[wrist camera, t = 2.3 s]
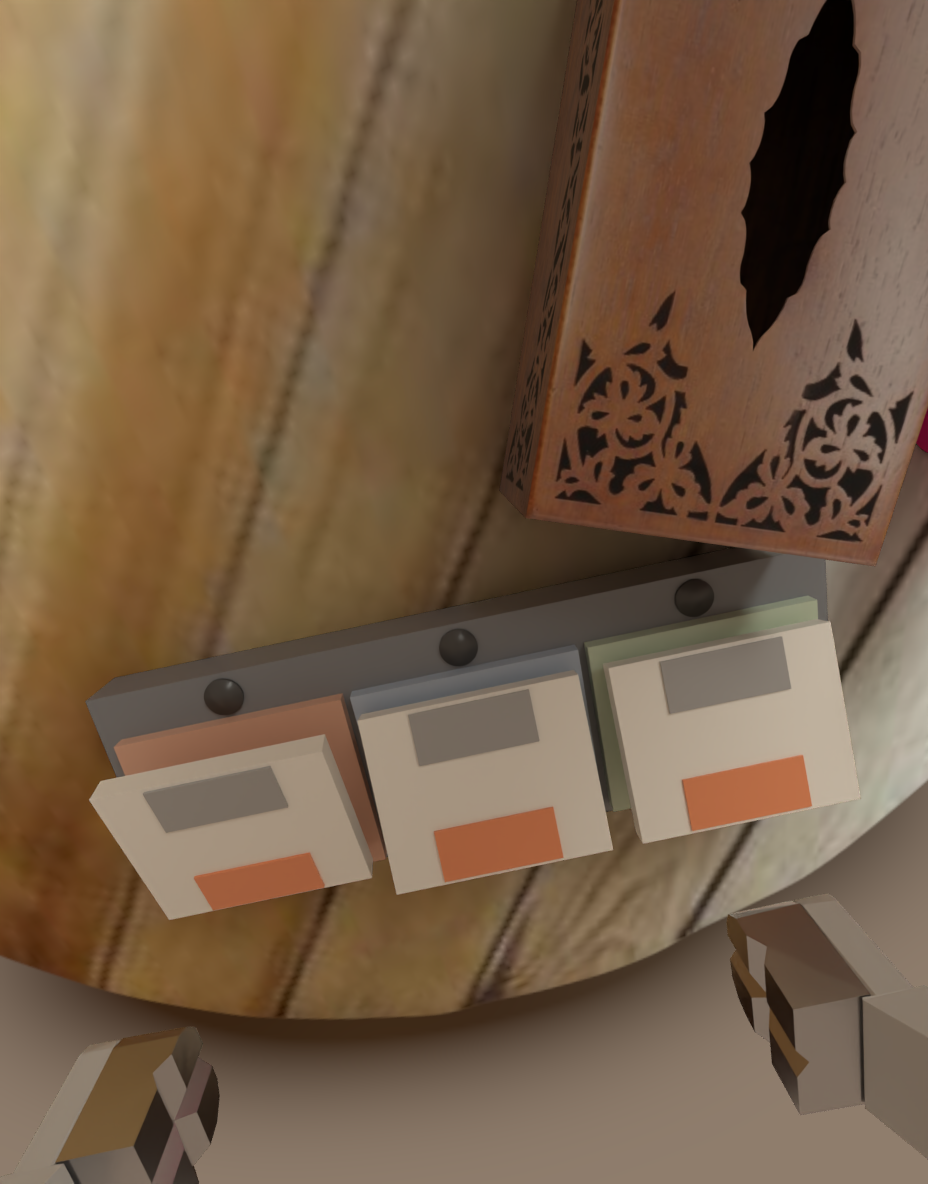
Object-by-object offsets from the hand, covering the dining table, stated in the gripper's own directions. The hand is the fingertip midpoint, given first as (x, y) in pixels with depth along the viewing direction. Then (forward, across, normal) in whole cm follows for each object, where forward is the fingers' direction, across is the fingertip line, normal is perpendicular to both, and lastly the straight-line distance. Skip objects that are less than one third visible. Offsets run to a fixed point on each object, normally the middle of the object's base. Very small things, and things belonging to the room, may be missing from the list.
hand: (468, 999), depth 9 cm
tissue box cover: (+26, -15, -14) cm, 33 cm away
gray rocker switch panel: (+26, 0, +8) cm, 27 cm away
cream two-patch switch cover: (+20, -13, +9) cm, 25 cm away
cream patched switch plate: (+20, +12, +9) cm, 25 cm away
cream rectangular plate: (+20, 0, +9) cm, 22 cm away
